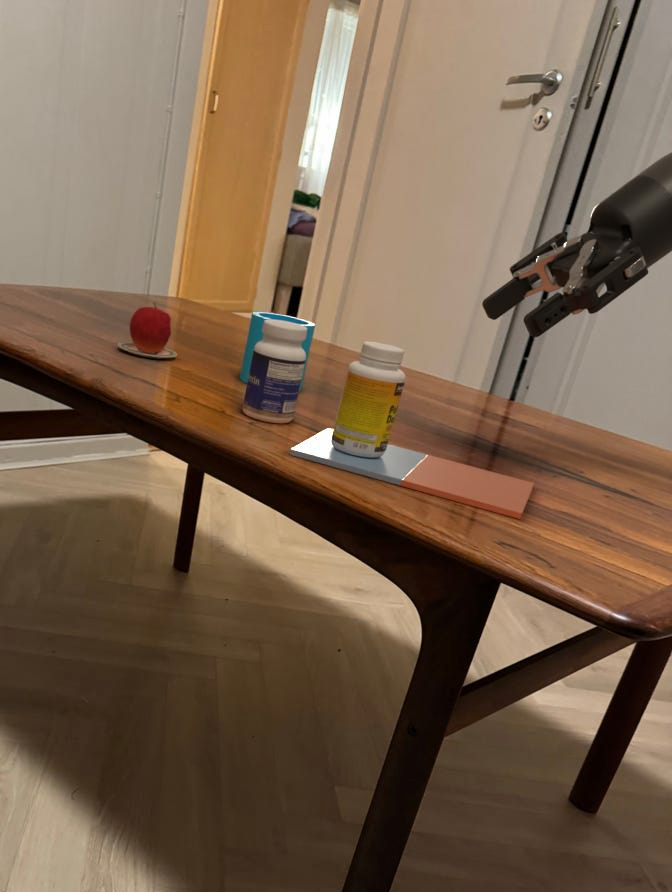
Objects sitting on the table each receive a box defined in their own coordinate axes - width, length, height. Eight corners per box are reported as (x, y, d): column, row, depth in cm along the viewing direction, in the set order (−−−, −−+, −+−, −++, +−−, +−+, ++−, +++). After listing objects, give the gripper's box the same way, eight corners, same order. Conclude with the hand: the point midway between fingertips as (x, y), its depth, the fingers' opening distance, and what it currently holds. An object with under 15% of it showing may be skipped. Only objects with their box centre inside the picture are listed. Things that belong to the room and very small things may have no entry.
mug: (281, 394, 113) (295, 326, 109) (227, 377, 116) (239, 311, 113) (325, 387, 122) (340, 325, 118) (275, 372, 126) (287, 311, 122)
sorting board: (532, 488, 91) (534, 483, 91) (520, 519, 80) (522, 513, 80) (326, 433, 98) (328, 427, 97) (289, 454, 87) (290, 448, 86)
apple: (150, 347, 127) (157, 298, 124) (188, 361, 122) (196, 311, 119) (105, 346, 122) (111, 295, 119) (143, 360, 117) (150, 308, 114)
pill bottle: (237, 407, 102) (255, 315, 97) (286, 414, 103) (306, 323, 98) (245, 420, 97) (264, 323, 92) (297, 427, 98) (318, 332, 93)
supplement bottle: (384, 463, 87) (413, 356, 83) (327, 451, 88) (354, 343, 83) (384, 450, 92) (411, 348, 88) (330, 438, 93) (355, 336, 88)
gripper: (601, 169, 88) (458, 275, 90) (696, 176, 75) (527, 298, 78) (627, 238, 91) (488, 337, 94) (722, 255, 79) (559, 369, 82)
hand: (506, 320), depth 86 cm, fingers open, 8 cm apart
